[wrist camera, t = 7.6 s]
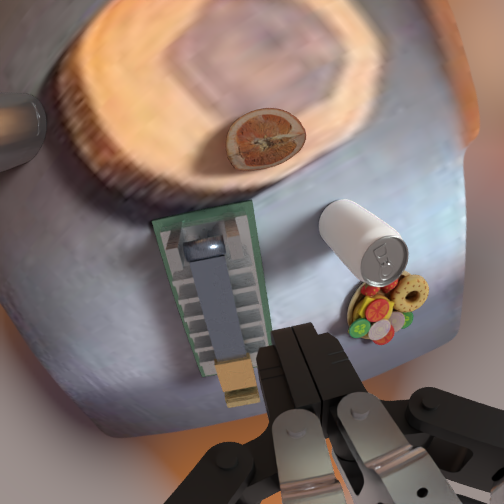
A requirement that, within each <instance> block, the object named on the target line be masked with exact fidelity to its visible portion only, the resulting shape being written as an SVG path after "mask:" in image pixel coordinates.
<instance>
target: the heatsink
mask: <svg viewBox="0 0 504 504" xmlns="http://www.w3.org/2000/svg"><path fill="white" fill-rule="evenodd" d="M152 224H153V228H154V231H155V235H156V238H157V242H158V246H159V249H160V253H161V256H162V259H163V263H164V266H165V269H166V273H167V276H168V279H169V283H170V286H171V289H172V292H173V295H174V298H175V301H176V304H177V308H178V311H179V314H180V317H181V320H182V322H183V325H184V328H185V331H186V334H187V337H188V340H189V343H190V345H191V348H192V351H193V354H194V356H195V359H196V362H197V365H198V367H199V370H200V373H201V375H202V377H206V376H212V375H217V372H216V369H215V365H214V359H216V356H215V352H214V349H213V346H212V342H211V339H210V336H209V332H208V329H207V325H206V322H205V319H204V315H203V312H202V308H201V304H200V301H199V297H198V294H197V290H196V286H195V283H194V279H193V275H192V271H191V268H190V264H189V262H187V261H186V259H185V256H184V251H183V242H188V241H192V240H197V239H202V238H207V237H212V236H217V235H222V234H223V239H224V243H225V249H226V254H225V258H226V263H227V268H228V273H229V277H230V282H231V287H232V291H233V296H234V301H235V305H236V310H237V314H238V319H239V323H240V328H241V332H242V337H243V341H244V346H245V350H246V353H250V358H251V362H252V367H253V368H255V367H257V363H256V357H257V353H258V350H259V348H260V347H265V346H270V345H272V343H271V335H270V331H272V325H271V319H270V312H269V305H268V299H267V292H266V286H265V279H264V273H263V267H262V260H261V254H260V247H259V241H258V235H257V228H256V222H255V215H254V209H253V203H252V200H247V201H241V202H236V203H231V204H226V205H221V206H216V207H210V208H206V209H201V210H196V211H191V212H186V213H181V214H177V215H172V216H167V217H163V218H158V219H154V220H152ZM253 371H254V369H253ZM254 375H255V374H254ZM255 380H256V379H255ZM256 385H257V384H256ZM225 400H226V403H227V406H228V408H230V407H236V406H242V405H247V404H252V403H257V402H260V398H259V393H258V388H257V386H253V387H248V388H243V389H237V390H232V391H226V392H225Z"/></svg>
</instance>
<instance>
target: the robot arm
mask: <svg viewBox="0 0 504 504" xmlns="http://www.w3.org/2000/svg"><path fill="white" fill-rule="evenodd" d="M46 125H47V123H46V115H45V111H44V109H43V107H42V105H41V103H40V102H39V101H38V99H37V98H35V97H34V96H32V95H29V94H25V93H0V172H2V171H5V170H8V169H11V168H13V167H16V166H18V165H21V164H24V163H26V162H28V161H29V160H31V159H32V158H33V157H34V156H35V155H36V154H37V153H38V151H39V150H40V148H41V146H42V144H43V141H44V138H45V134H46ZM270 335H271V343H272V345H270V346H265V347H260V348H259V350H258V353H257V357H256V363H257V368H258V374H259V380H260V385H261V390H262V394H263V398H264V402H265V406H266V411H267V415H268V418H269V424H268V427H267V429H266V430H265V431H264V432H263V433H262V434H261V435H260V436H259V437H257V438H256V439H254V440H252V441H250V442H248V443H246V444H243V445H242V444H239V443H235V442H223V443H219V444H217V445H215V446H213V447H212V448H210V449H209V450H208V451H207V452H206V454H205V455H204V456H203V457H202V458H201V460H200V461H199V462H198V463H197V465H196V466H195V467H194V469H193V470H192V471H191V472H190V473H189V475H188V476H187V477H186V478H185V479H184V481H183V482H182V483H181V484H180V485H179V486H178V488H177V489H176V490H175V491H174V492H173V493H172V495H171V496H170V497H169V498H168V499H167V500H166V502H165V503H164V504H260V503H261V501H262V500H263V499H265V498H267V497H269V496H271V495H273V494H275V493H276V492H279V491H281V497H282V503H283V504H346V500H345V497H344V493H343V489H342V487H341V484H340V482H339V481H338V480H337V479H336V477H335V475H334V471H333V467H332V464H331V460H330V456H329V452H328V449H327V445H326V441H325V439H326V438H329V439H330V442H331V444H332V456H333V459H334V461H335V463H336V465H337V467H338V469H339V471H340V473H341V475H342V478H343V479H344V482H345V483H346V486H347V488H348V490H349V492H350V494H351V496H352V498H353V502H354V504H487V503H484V502H481V501H478V500H475V499H472V498H469V497H466V496H463V495H459V494H456V493H455V492H454V490H453V489H452V487H451V486H450V484H449V483H448V482H447V480H446V479H449V480H451V481H454V482H457V483H460V484H463V485H467V486H469V487H473V488H476V489H479V490H483V491H486V492H490V493H491V498H490V504H504V410H500V409H497V408H494V407H491V406H487V405H485V404H481V403H478V402H475V401H472V400H469V399H466V398H463V397H460V396H457V395H454V394H451V393H449V392H446V391H443V390H440V389H437V388H433V387H425V388H421V389H419V390H417V391H415V392H414V393H413V394H412V396H411V397H410V399H409V400H397V401H384V400H380V399H378V398H377V397H376V396H374V395H373V394H370V393H368V392H367V391H366V389H365V387H364V386H363V384H362V382H361V380H360V378H359V377H358V375H357V373H356V371H355V369H354V367H353V366H352V364H351V362H350V360H348V357H347V355H346V353H345V352H344V350H343V348H342V346H341V344H340V343H339V341H338V340H337V339H336V338H335V337H333V336H332V335H331V334H329V333H328V332H327V333H323V334H319V335H318V334H317V332H316V330H315V328H314V326H313V324H312V323H311V322H309V323H305V324H300V325H296V326H292V327H287V328H282V329H278V330H273V331H270Z"/></svg>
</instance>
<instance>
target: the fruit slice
mask: <svg viewBox="0 0 504 504" xmlns="http://www.w3.org/2000/svg"><path fill="white" fill-rule="evenodd" d="M305 140H306V132H305V129H304V128H303V126H302V124H301V122H300V121H299V120H298V119H297V118H296V117H295V116H293V115H292V114H290V113H289V112H287V111H284V110H280V109H275V108H263V109H258V110H255V111H251V112H249V113H247V114H245V115H243V116H242V117H240V118H239V119H237V120H236V121H235V122H234V123H233V124H232V126H231V127H230V129H229V131H228V134H227V138H226V152H227V156H228V159H229V160H230V162H231V164H232V166H234V168H235V169H238V170H260V169H266V168H270V167H273V166H276V165H279V164H281V163H283V162H285V161H287V160H288V159H290V158H291V157H293V156H294V155H295V154H297V153H298V152H299V151H300V150H301V148H302V147H303V145H304V143H305Z"/></svg>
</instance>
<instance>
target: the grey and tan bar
mask: <svg viewBox="0 0 504 504" xmlns="http://www.w3.org/2000/svg"><path fill="white" fill-rule="evenodd" d="M183 251H184V256H185V259H186V261H187V262H189V264H190V268H191V271H192V275H193V279H194V283H195V286H196V290H197V294H198V297H199V301H200V304H201V308H202V312H203V315H204V319H205V322H206V325H207V329H208V332H209V336H210V339H211V342H212V346H213V349H214V352H215V356H216V359H214V365H215V369H216V372H217V375H218V378H219V381H220V384H221V387H222V390H223V392H226V391H232V390H237V389H243V388H248V387H253V386H257V385H256V380H255V375H254V371H253V367H252V362H251V358H250V353H246V350H245V346H244V341H243V337H242V332H241V328H240V323H239V319H238V314H237V310H236V305H235V301H234V296H233V291H232V287H231V282H230V277H229V273H228V268H227V263H226V258H225V254H226V249H225V243H224V239H223V234H222V235H217V236H212V237H207V238H202V239H197V240H192V241H188V242H183Z"/></svg>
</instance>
